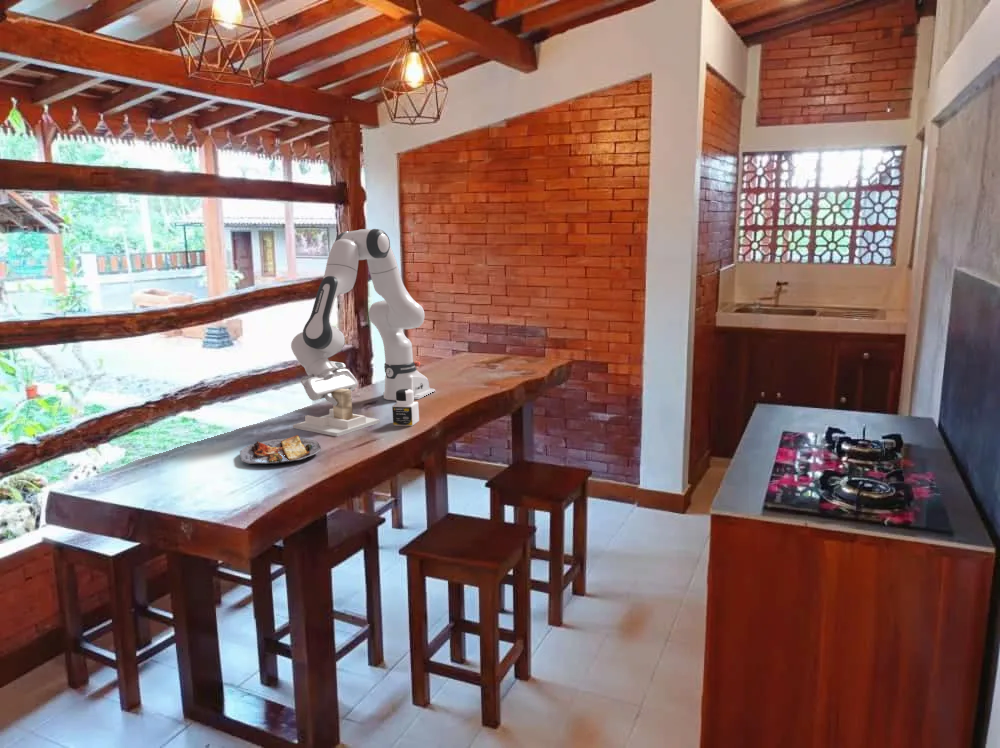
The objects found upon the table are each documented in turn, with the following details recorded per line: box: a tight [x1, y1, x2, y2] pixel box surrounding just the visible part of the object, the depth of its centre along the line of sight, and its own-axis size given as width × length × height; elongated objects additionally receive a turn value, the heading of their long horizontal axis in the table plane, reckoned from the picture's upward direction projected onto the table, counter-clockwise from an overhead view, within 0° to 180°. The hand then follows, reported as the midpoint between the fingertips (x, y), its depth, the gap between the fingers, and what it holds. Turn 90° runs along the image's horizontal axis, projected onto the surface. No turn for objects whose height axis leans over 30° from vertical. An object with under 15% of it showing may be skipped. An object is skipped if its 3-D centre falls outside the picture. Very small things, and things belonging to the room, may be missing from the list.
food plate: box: [239, 434, 321, 465], centre depth 225 cm, size 25×23×4 cm
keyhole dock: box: [292, 407, 381, 438], centre depth 257 cm, size 20×22×4 cm
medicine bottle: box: [392, 389, 420, 427], centre depth 256 cm, size 7×7×12 cm
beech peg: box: [332, 389, 354, 420], centre depth 254 cm, size 4×4×11 cm
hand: (343, 402), depth 254 cm, fingers closed on beech peg, 4 cm apart
